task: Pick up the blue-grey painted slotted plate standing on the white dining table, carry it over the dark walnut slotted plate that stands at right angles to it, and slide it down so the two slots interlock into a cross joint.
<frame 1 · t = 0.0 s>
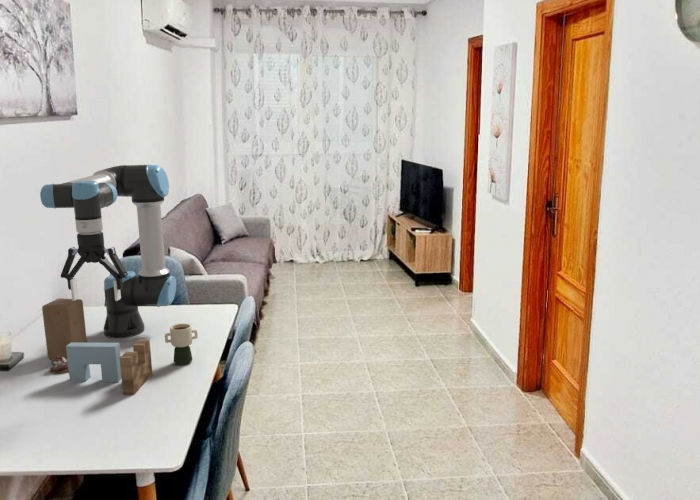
hand: (96, 299, 209), 28 cm above the table, fingers open, 13 cm apart
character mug: (183, 363, 232), on the table
blue plate: (96, 379, 219), on the table
wooden block: (68, 356, 239), on the table
walnut plate: (138, 383, 215), on the table
pastry: (63, 370, 228), on the table
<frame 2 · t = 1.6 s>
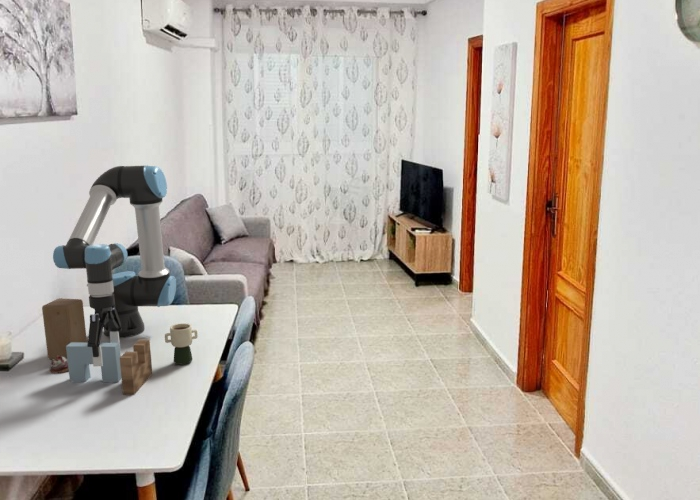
hand: (107, 358, 216), 8 cm above the table, fingers open, 13 cm apart
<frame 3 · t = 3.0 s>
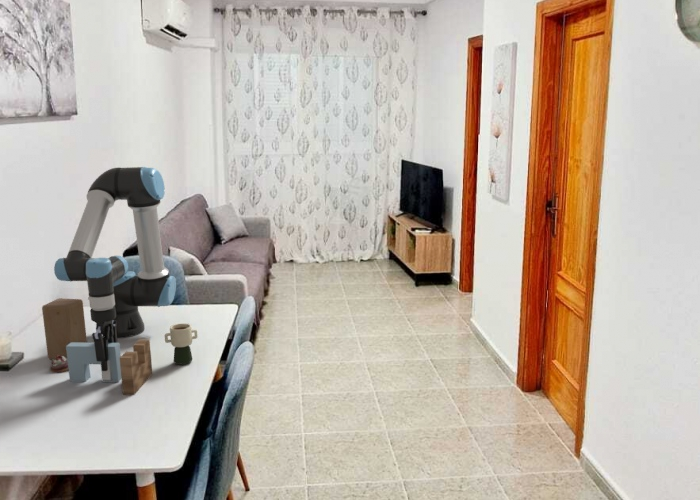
hand: (109, 376, 218), 1 cm above the table, fingers closed on blue plate, 3 cm apart
blue plate: (96, 379, 219), on the table, touching gripper
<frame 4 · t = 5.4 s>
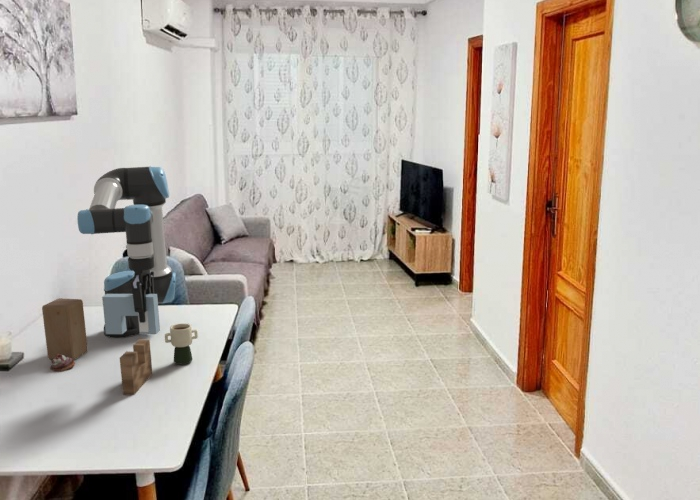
hand: (147, 329, 210), 18 cm above the table, fingers closed on blue plate, 3 cm apart
blue plate: (133, 332, 211), point 17 cm above the table, touching gripper
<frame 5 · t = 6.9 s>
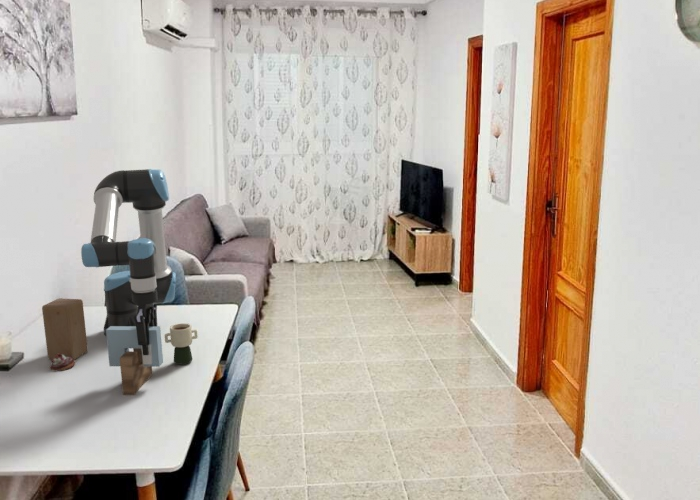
hand: (150, 361, 213), 8 cm above the table, fingers closed on blue plate, 3 cm apart
blue plate: (136, 364, 213), point 7 cm above the table, touching gripper
when the fingers open (2 cm above the table, at t = 8.2 s): blue plate stays where it is, resting on walnut plate.
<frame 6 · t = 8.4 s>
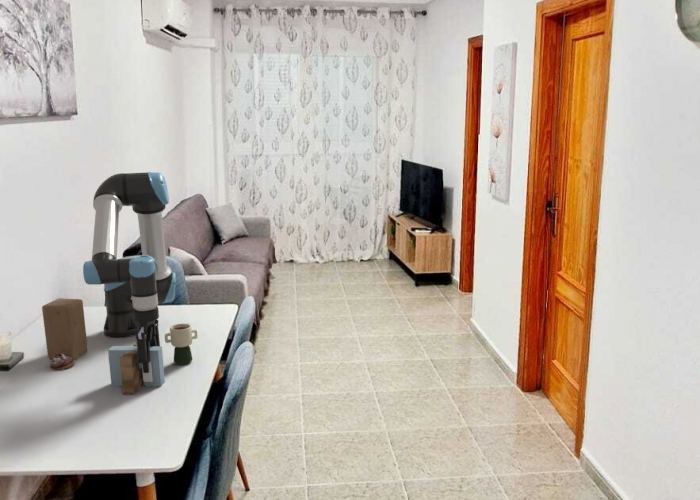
hand: (151, 377, 214), 2 cm above the table, fingers open, 5 cm apart
blue plate: (138, 383, 215), resting on walnut plate
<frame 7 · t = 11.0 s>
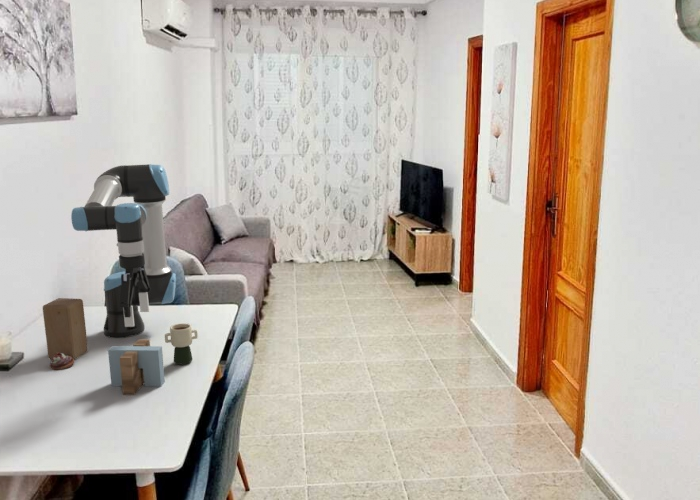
hand: (137, 318, 214), 20 cm above the table, fingers open, 13 cm apart
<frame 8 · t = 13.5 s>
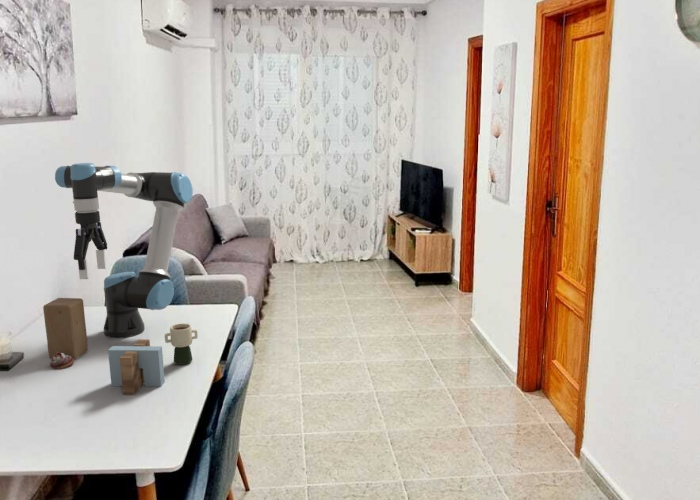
hand: (93, 273, 226), 32 cm above the table, fingers open, 13 cm apart
at the end: blue plate 0.0 cm off-centre on the walnut plate, point 0.0 cm above the walnut plate's base; blue plate tilted 0°; the gripper is holding nothing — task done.
